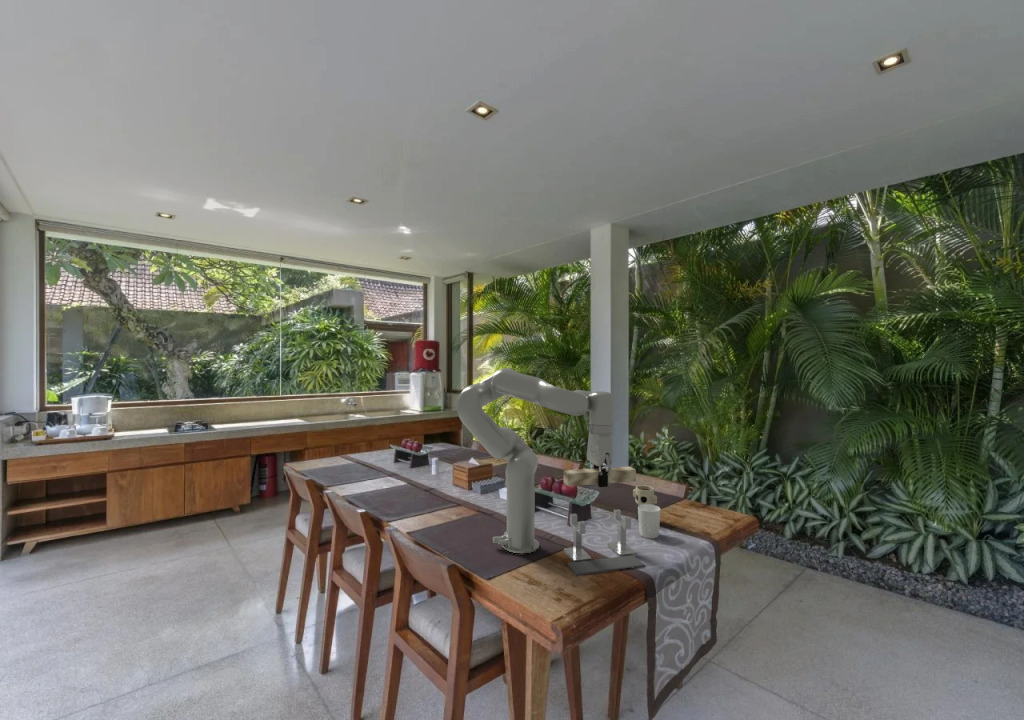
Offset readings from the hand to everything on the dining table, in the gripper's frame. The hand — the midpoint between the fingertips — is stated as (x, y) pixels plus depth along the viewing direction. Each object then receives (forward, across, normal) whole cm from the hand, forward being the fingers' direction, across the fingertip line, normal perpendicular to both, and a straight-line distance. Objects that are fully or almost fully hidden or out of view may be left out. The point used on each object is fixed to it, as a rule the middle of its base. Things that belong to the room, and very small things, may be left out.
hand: (599, 484), depth 154 cm
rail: (-1, 0, 0) cm, 1 cm away
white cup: (+23, -9, +24) cm, 35 cm away
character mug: (+23, -22, +30) cm, 44 cm away
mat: (+23, +9, -2) cm, 25 cm away
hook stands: (+23, 0, 0) cm, 23 cm away
